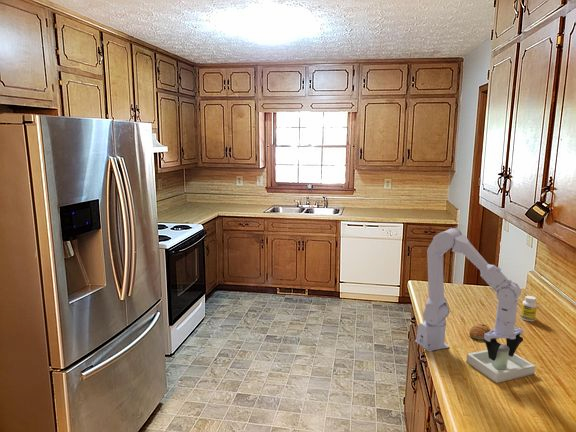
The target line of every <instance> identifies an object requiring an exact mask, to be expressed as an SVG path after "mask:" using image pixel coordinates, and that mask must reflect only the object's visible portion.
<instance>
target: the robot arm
mask: <svg viewBox="0 0 576 432" xmlns="http://www.w3.org/2000/svg"><path fill="white" fill-rule="evenodd" d="M449 250H451V252H452V253H459V254H462V255H464V257H465V258H467V260H469V261H470V262H471V263H472V264H473V265H474V266H475V268H477V269H478V270H479V271H480V277H481V279H483V280H484V281H485V283H487V285H488V286H490V288H491V289H492V290H493V291H494V292H495V293H496V294H495V295H496V299H497V300H498V302H497V306H496V315H495V323H494V328H493V329H490V332H488V333H485V334H484V337H483V339H482V340H483V342H484V343H485V346H486V350H488V356H489V358H490V359H491V360H493V361H494V360H495V359H496V355H497V351H498V349H499V347H500V345H501V344H502V343H500V342H498V340H497V339H505V340H506V344H505V345H506V346H508V347H509V354H508V355H509V356H511V357H513V355H514V353H515V352H516V350H517V349H518V347H519V346H520V345H521V343H523V342H524V338H523V337H522V336H523V334H524V333H523V332H524V329H523V328H520V327H515V326H516V320H517V312H518V311H517V310H518V299H519V298H520V296H521V293H522V290H521V288H520V286H519V284H518V283H517V282H514V281H512V280H511V279H509V278H507V276H506V275H505V274H504V273H503V272H502V269H501V268H500V266H496V265H495V264H490V263H488V261H487V260H486V259H485V258H484V257H483V256H482V255H481V254H480V252H479V251H478V250H477V249H476V248H475V246H474V245H473V244H472V243H471V242H470V240H469V239H468V237H467V236H466V235H465V234H463V232H462V231H461V230H459V229H458V228H455V227H451V228H449V229H446V230H445V231H441V232H439V233H437V234H436V235H434V237H432V241H431V242H430V244H429V245H428V248H427V250H426V252H427V253H426V254H427V255H426V260H427V286H428V287H427V288H428V290H427V291H428V294H427V295H428V298H427V300H426V302H425V304H424V305H425V307H424V311H423V312H422V316H423V317H422V318H423V320H424V321H423V322H421V323H419V324H418V325H417V330H416V339H415V340H414V342H415V343H417V344H418V345H419V346H420V347H422V348H423V349H424V350H425V351H427V352H431V351H438V350H443V349H448V348H450V345H449V344H447V343H446V342H445V338H446V327H447V321H446V317H448V316H449V314H450V307H449V306H448V302H447V297H445V288H444V287H445V284H444V254H446V253H447V252H448V251H449ZM515 354H516V353H515Z"/></svg>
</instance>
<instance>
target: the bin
mask: <svg viewBox="0 0 576 432" xmlns="http://www.w3.org/2000/svg"><path fill="white" fill-rule="evenodd" d="M465 361H466V363H467V364H469V365H470V366H471V367H473V368H474V369H476V370H477V371H479V372H480V373H482V374H483V375H484V376H486V378H489V379H490V380H492V381H493V382H494V383H495V384H497V383H501V382H505V381H506V382H507V381H511V380H515V379H519V378H524V377H527V376H532V375H535V372H536V365H535V364H533V363H532V362H530V361H528V360H527V359H525V358H523V357H521V356H520V355H518V354H516V353H514V355H513V357H511V356H509V355H508V361H507V369H505V370H499V369H496V368H494V367H493V366H492V361H493V360H491V359H490V358H489V356H488V350H487V349H484V350H478V351H474V352H469V353H468V352H467V353H466V359H465Z"/></svg>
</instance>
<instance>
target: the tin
mask: <svg viewBox="0 0 576 432" xmlns="http://www.w3.org/2000/svg"><path fill="white" fill-rule="evenodd" d="M500 344H501V345H500V347H499V349H498V351H497V355H496V359H495V360H494V361H492V366H493V367H494V368H496V369H499V370H505V369H507V361H508V354H509V347H508V346H506V345H507V344H502V343H500Z"/></svg>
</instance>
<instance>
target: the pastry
mask: <svg viewBox="0 0 576 432" xmlns="http://www.w3.org/2000/svg"><path fill="white" fill-rule="evenodd" d="M490 331H491V329H490V327H489V326H488V325H486V324H484V323H477V324H476V325H473V326H472V327H471V328H470V331H469V337H470V338H471V339H475V340H477V341H480V340H483V337H484V334H485V333H488V332H490Z"/></svg>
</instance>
